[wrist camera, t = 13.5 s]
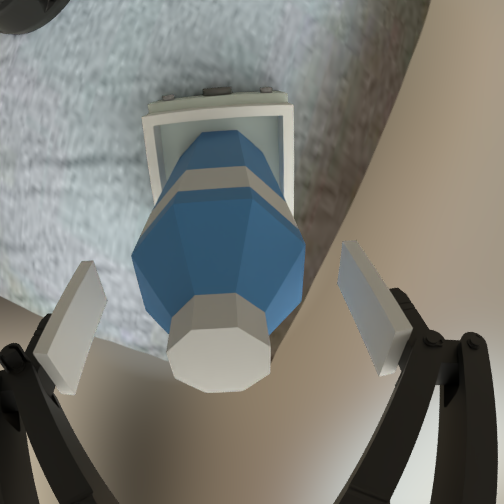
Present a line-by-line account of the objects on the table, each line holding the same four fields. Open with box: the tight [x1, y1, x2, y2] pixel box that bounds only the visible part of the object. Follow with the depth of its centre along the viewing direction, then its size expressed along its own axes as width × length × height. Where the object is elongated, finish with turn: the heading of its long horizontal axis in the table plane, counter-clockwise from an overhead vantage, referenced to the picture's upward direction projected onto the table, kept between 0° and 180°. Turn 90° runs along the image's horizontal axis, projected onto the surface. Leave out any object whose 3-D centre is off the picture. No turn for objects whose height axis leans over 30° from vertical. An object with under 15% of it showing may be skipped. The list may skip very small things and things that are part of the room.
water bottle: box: [131, 130, 305, 393], centre depth 22 cm, size 9×9×25 cm
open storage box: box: [142, 87, 294, 216], centre depth 34 cm, size 17×14×8 cm
